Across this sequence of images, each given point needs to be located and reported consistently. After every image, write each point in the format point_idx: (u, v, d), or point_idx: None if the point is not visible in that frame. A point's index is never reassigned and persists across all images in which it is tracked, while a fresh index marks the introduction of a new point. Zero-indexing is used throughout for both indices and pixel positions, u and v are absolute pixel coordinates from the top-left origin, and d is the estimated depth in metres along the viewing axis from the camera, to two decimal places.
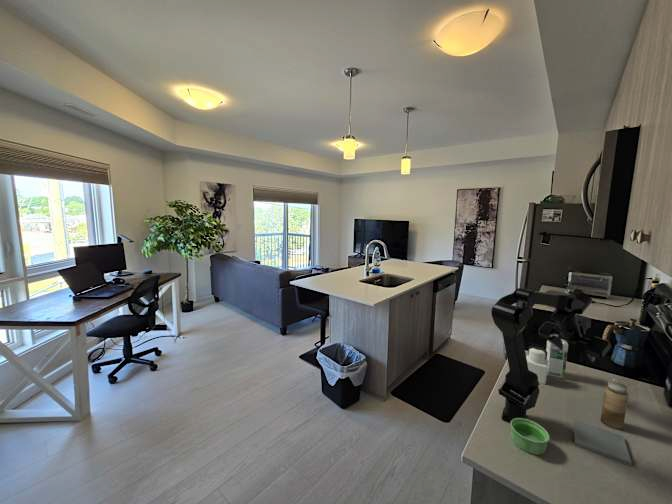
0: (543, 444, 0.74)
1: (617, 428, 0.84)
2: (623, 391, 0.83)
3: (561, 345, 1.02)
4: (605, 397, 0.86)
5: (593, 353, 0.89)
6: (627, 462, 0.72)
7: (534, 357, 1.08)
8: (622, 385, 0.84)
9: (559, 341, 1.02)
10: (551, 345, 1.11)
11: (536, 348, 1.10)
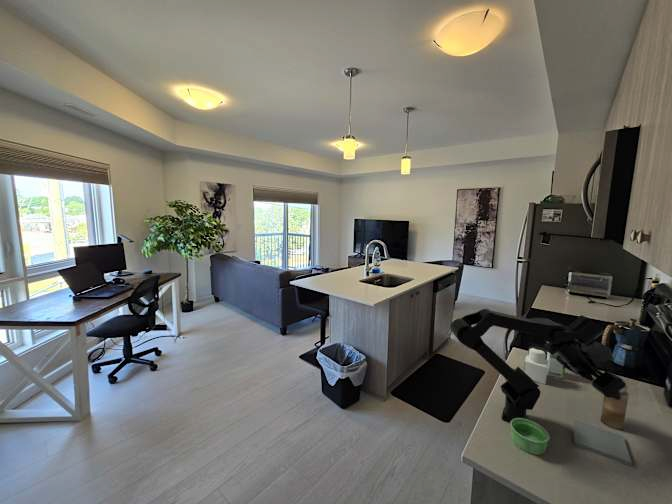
0: (543, 444, 0.74)
1: (617, 428, 0.84)
2: (623, 391, 0.83)
3: (589, 376, 0.89)
4: (605, 397, 0.86)
5: (599, 391, 0.78)
6: (627, 462, 0.72)
7: (534, 357, 1.08)
8: None
9: None
10: None
11: (536, 348, 1.10)
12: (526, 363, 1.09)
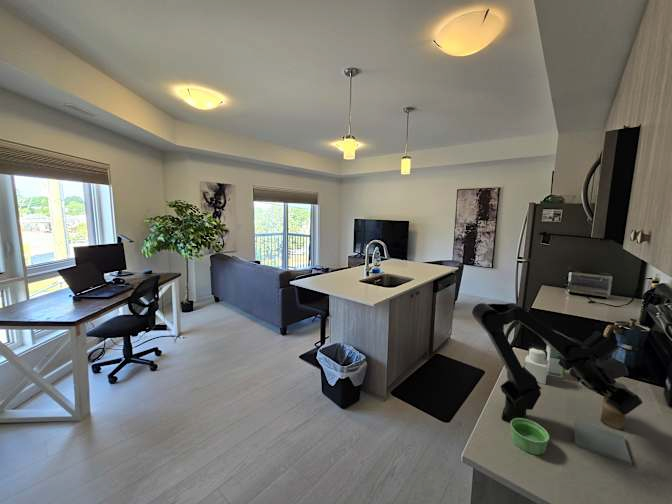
0: (543, 444, 0.74)
1: (617, 428, 0.84)
2: None
3: None
4: (605, 397, 0.86)
5: (615, 407, 0.78)
6: (627, 462, 0.72)
7: (534, 357, 1.08)
8: (622, 385, 0.84)
9: None
10: None
11: (536, 348, 1.10)
12: (526, 363, 1.09)
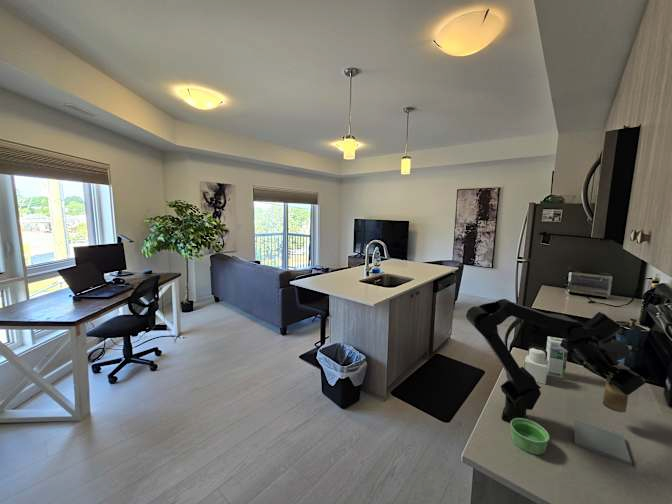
0: (543, 444, 0.74)
1: (620, 410, 0.83)
2: None
3: None
4: (608, 379, 0.85)
5: (617, 388, 0.77)
6: (627, 462, 0.72)
7: (534, 357, 1.08)
8: (625, 367, 0.83)
9: None
10: (551, 345, 1.11)
11: (536, 348, 1.10)
12: (526, 363, 1.09)
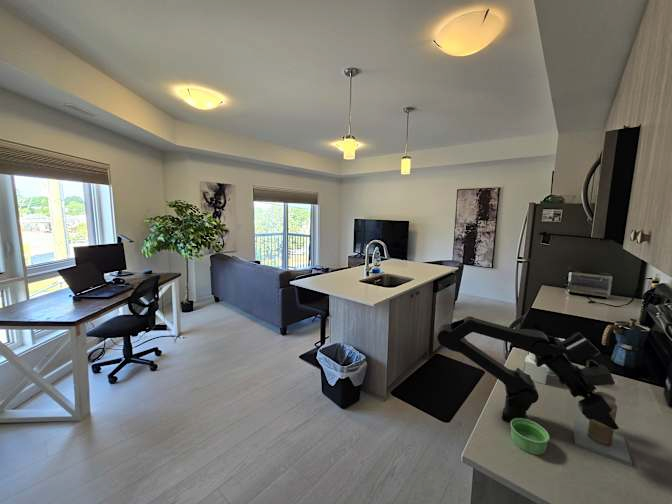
0: (543, 444, 0.74)
1: (600, 443, 0.77)
2: None
3: None
4: None
5: None
6: (627, 462, 0.72)
7: (534, 357, 1.08)
8: (611, 398, 0.77)
9: None
10: None
11: None
12: (526, 363, 1.09)
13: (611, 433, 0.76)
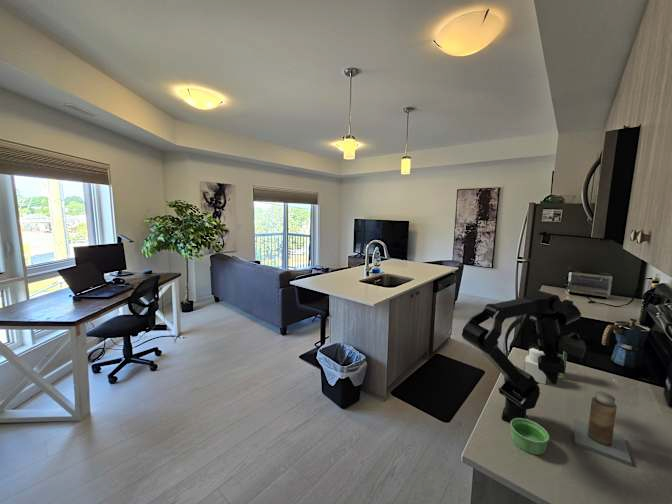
0: (543, 444, 0.74)
1: (600, 442, 0.77)
2: (607, 402, 0.76)
3: None
4: (591, 407, 0.80)
5: (538, 363, 0.84)
6: (627, 462, 0.72)
7: (534, 357, 1.08)
8: (610, 397, 0.77)
9: None
10: None
11: (536, 348, 1.10)
12: (526, 363, 1.09)
13: (611, 433, 0.76)
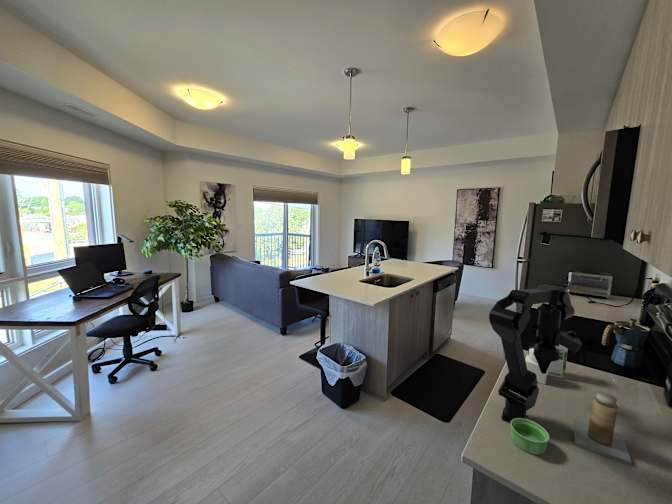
0: (543, 444, 0.74)
1: (600, 442, 0.77)
2: (608, 403, 0.76)
3: None
4: (592, 407, 0.80)
5: None
6: (627, 462, 0.72)
7: (534, 357, 1.08)
8: (612, 398, 0.77)
9: None
10: None
11: None
12: (526, 363, 1.09)
13: (611, 433, 0.76)
